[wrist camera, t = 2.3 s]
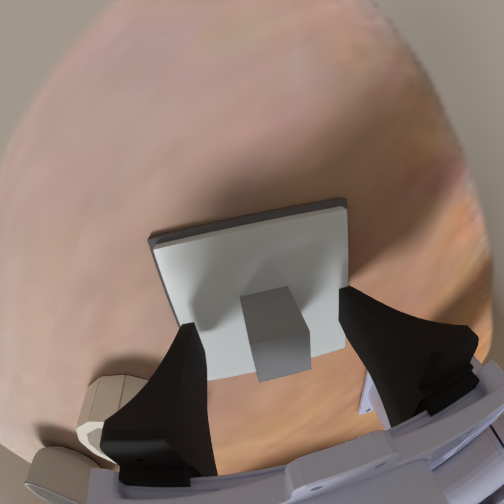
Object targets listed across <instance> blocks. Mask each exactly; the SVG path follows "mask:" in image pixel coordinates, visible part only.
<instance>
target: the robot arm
mask: <svg viewBox="0 0 504 504" xmlns="http://www.w3.org/2000/svg"><path fill="white" fill-rule="evenodd" d="M338 321H339V323H340V325H341V327H342V329H343V331H344V333H345V336H346V337H347V339H348V340H349V342H350V344H351V345H352V347H353V348H354V350H355V351H356V353H357V354H358V356H359V357H360V359H361V361H362V362H363V364H364V365H365V367H366V369H367V372H366V377H365V382H364V387H363V391H362V396H361V400H360V404H359V409H358V413H359V414H360V415H362V414H365V413H368V412H370V411H373V410H374V411H375V412H376V414H377V416H378V418H379V420H380V422H381V424H382V426H383V427H384V429H385V430H378V431H374V432H371V433H368V434H366V435H363V436H361V437H358V438H355V439H353V440H350V441H347V442H344V443H342V444H339V445H336V446H333V447H330V448H327V449H323V450H320V451H317V452H313V453H310V454H307V455H305V456H302V457H299V458H297V459H295V460H294V461H292V462H290V463H289V464H285V465H281V466H276V467H272V468H267V469H261V470H256V471H250V472H244V473H237V474H229V475H221V476H218V474H217V469H216V464H215V460H214V454H213V449H212V443H211V437H210V430H209V422H208V414H207V362H206V353H205V350H204V347H203V344H202V342H201V339H200V336H199V334H198V331H197V328H196V326H195V323H194V322H191V323H186V324H182V325H181V327H180V329H179V331H178V333H177V335H176V337H175V339H174V341H173V343H172V345H171V346H170V348H169V350H168V352H167V354H166V356H165V357H164V359H163V361H162V362H161V364H160V365H159V367H158V368H157V370H156V371H155V373H154V374H153V376H152V377H151V378H150V380H149V381H148V382H147V383H146V384H145V386H144V387H143V388H142V389H141V390H140V391H139V392H138V393H137V394H136V395H135V396H134V397H133V398H132V399H131V400H130V401H129V402H128V403H127V404H126V405H124V406H123V407H122V408H121V409H120V410H118V411H117V412H116V413H114V414H113V415H112V416H110V417H109V418H107V419H106V420H105V421H104V424H103V428H102V434H101V439H100V445H99V447H100V449H101V451H102V452H103V453H104V454H105V455H106V456H108V457H109V458H110V459H111V460H113V461H114V462H115V463H117V464H118V465H119V466H120V471H119V472H118V471H115V470H109V469H100V468H91V473H90V480H89V488H88V496H87V504H504V414H503V413H502V412H503V411H504V372H503V371H502V370H501V369H500V367H499V366H498V365H497V364H496V363H495V362H494V361H493V360H492V361H490V362H489V363H487V364H486V365H485V366H483V365H482V364H481V363H480V362H479V361H478V360H477V359H476V358H475V356H474V353H475V351H476V349H477V346H478V341H479V338H478V336H477V335H476V334H475V333H474V332H473V331H472V330H471V329H470V328H469V327H468V326H464V325H450V324H443V323H437V322H432V321H428V320H424V319H420V318H417V317H414V316H411V315H408V314H405V313H403V312H400V311H398V310H396V309H393V308H391V307H389V306H387V305H385V304H383V303H381V302H379V301H377V300H375V299H373V298H371V297H370V296H368V295H366V294H364V293H362V292H361V291H359V290H357V289H355V288H353V287H351V286H347V287H343V288H340V289H339V314H338Z"/></svg>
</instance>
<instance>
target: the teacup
mask: <svg viewBox="0 0 504 504" xmlns="http://www.w3.org/2000/svg"><path fill="white" fill-rule="evenodd" d="M91 468H100V467H99V466H98V464H96V463H95V462H94V461H93V460H91V459H90V458H88V457H86V456H85V455H83V454H81V453H78V452H76V451H74V450H71V449H68V448H65V447H61V446H52V447H46V448H42V449H40V450H39V451H38V452H37V453H36V454H35V456H34V458H33V461H32V464H31V467H30V470H29V473H28V476H27V480H26V481H25V482H24V485H25V486H26V487H27V488H28V489H29V490H30V491H31V492H33V493H34V494H36V495H37V496H39V497H40V498H42V499H44V500H46V501H47V502H49V503H51V504H87V496H88V488H89V480H90V473H91ZM100 469H101V468H100Z"/></svg>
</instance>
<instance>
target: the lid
mask: <svg viewBox="0 0 504 504" xmlns="http://www.w3.org/2000/svg"><path fill="white" fill-rule="evenodd" d="M153 251H154V254H155V257H156V260H157V263H158V266H159V269H160V272H161V275H162V278H163V281H164V283H165V286H166V289H167V292H168V294H169V297H170V300H171V303H172V305H173V308H174V310H175V313H176V316H177V318H178V321H179V323H180V326H181V325H182V324H186V323H191V322H194V323H195V326H196V328H197V331H198V334H199V336H200V339H201V342H202V344H203V347H204V350H205V353H206V362H207V381H209V380H215V379H221V378H227V377H232V376H237V375H242V374H247V373H252V372H256V373H257V377H258V381H259V382H262V381H266V380H271V379H275V378H279V377H283V376H287V375H291V374H295V373H299V372H302V371H306V370H310V369H311V358H312V357H316V356H319V355H323V354H326V353H329V352H333V351H336V350H339V349H342V348H345V342H346V336H345V333H344V331H343V329H342V327H341V325H340V323H339V321H338V314H339V289H340V288H343V287H347V286H348V221H347V209H345V208H344V207H342V206H340V207H334V208H329V209H323V210H318V211H312V212H307V213H302V214H297V215H292V216H286V217H281V218H276V219H271V220H266V221H261V222H256V223H252V224H247V225H242V226H237V227H232V228H228V229H223V230H218V231H214V232H209V233H204V234H200V235H195V236H191V237H186V238H182V239H178V240H173V241H169V242H164V243H160V244H156V245H155V247H154V249H153Z"/></svg>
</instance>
